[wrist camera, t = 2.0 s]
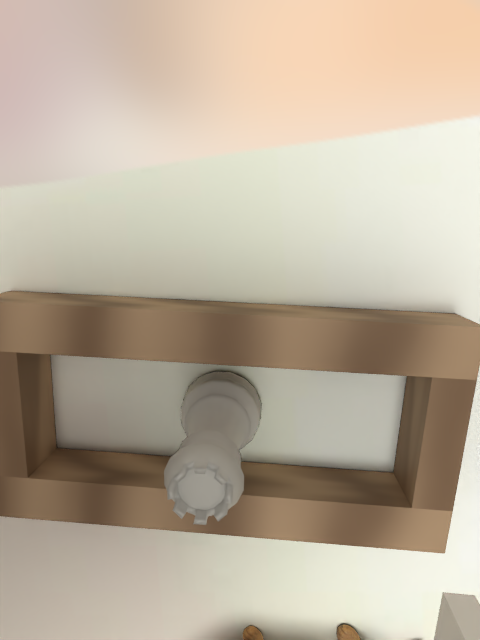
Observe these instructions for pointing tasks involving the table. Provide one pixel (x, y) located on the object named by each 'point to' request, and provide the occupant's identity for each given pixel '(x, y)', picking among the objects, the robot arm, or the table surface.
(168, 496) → the rook chess piece
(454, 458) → the slot holder
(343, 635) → the lion figurine
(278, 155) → the table surface
